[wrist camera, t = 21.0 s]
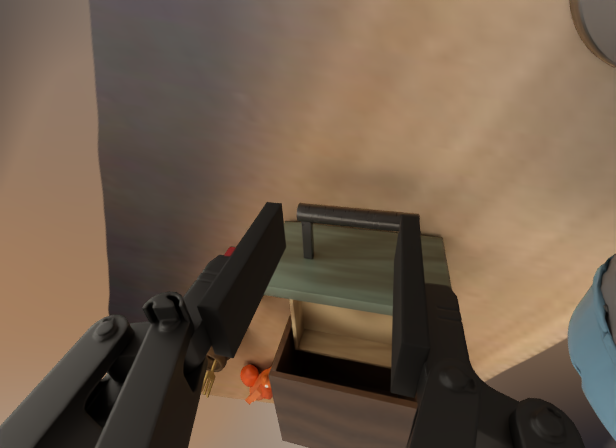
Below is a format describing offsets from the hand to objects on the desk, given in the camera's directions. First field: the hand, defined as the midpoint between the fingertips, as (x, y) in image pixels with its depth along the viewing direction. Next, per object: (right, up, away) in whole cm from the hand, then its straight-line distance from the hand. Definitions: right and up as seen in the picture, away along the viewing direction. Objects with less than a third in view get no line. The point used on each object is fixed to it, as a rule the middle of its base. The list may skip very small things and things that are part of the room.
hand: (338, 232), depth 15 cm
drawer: (+4, -5, +22) cm, 23 cm away
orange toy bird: (-10, -27, +43) cm, 51 cm away
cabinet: (+5, -19, +32) cm, 38 cm away
